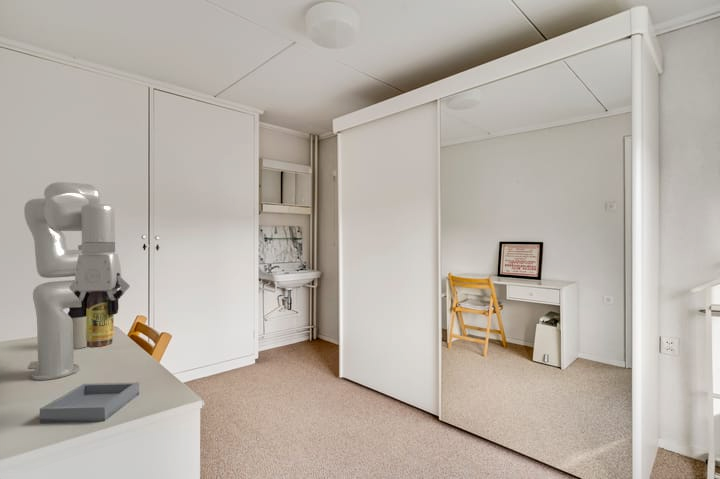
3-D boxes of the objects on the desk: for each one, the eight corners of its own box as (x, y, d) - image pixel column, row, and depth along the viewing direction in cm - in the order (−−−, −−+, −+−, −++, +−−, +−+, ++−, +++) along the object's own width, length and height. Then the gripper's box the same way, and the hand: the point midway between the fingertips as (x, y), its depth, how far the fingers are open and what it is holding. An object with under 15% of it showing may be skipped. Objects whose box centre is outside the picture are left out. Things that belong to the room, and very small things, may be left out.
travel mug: (82, 349, 156) (81, 306, 156) (63, 349, 157) (62, 306, 156) (96, 343, 164) (95, 302, 164) (78, 343, 165) (77, 302, 164)
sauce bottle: (92, 350, 99) (90, 274, 98) (81, 346, 102) (79, 273, 102) (119, 343, 104) (117, 272, 104) (108, 340, 108) (106, 271, 107)
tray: (40, 422, 95) (39, 409, 95) (83, 395, 111) (83, 383, 111) (104, 420, 96) (104, 407, 96) (139, 394, 112) (139, 382, 112)
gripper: (55, 250, 99) (57, 318, 99) (122, 249, 99) (124, 317, 100) (76, 249, 106) (77, 312, 107) (138, 248, 107) (139, 311, 107)
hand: (100, 314), depth 103 cm, fingers closed on sauce bottle, 6 cm apart
